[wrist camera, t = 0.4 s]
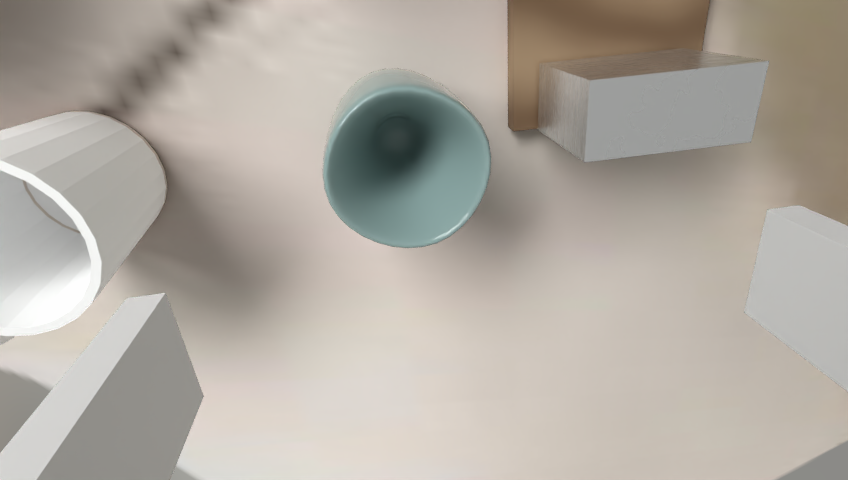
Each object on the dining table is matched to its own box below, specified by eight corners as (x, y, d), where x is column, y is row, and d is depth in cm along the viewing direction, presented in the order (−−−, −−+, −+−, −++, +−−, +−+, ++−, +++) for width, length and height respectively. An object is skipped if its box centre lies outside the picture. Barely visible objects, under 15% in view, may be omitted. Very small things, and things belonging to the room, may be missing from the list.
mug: (27, 75, 27) (-138, 114, 18) (192, 138, 30) (120, 199, 21) (3, 239, 31) (-143, 339, 22) (151, 282, 34) (75, 387, 25)
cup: (474, 92, 31) (522, 129, 22) (422, 198, 34) (447, 270, 25) (358, 37, 29) (360, 54, 20) (313, 156, 31) (297, 218, 22)
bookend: (539, 63, 29) (589, 80, 23) (682, 48, 30) (769, 60, 24) (537, 129, 31) (584, 162, 25) (672, 114, 32) (750, 142, 25)
